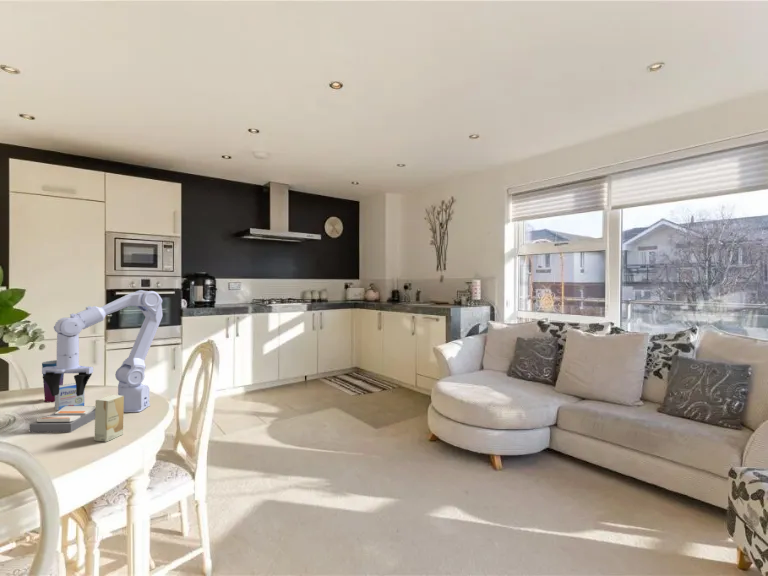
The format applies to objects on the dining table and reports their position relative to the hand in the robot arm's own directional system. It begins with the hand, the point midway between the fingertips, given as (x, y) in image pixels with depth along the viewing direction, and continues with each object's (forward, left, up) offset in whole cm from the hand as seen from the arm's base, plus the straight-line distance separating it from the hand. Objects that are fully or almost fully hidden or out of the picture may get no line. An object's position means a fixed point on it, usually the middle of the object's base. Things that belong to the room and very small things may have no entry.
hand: (67, 395), depth 128 cm
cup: (+22, -25, -10) cm, 35 cm away
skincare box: (-20, +12, -10) cm, 25 cm away
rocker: (0, +4, -7) cm, 8 cm away
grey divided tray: (0, 0, -9) cm, 9 cm away
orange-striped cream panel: (0, -4, -7) cm, 8 cm away
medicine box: (+10, -16, -10) cm, 21 cm away
